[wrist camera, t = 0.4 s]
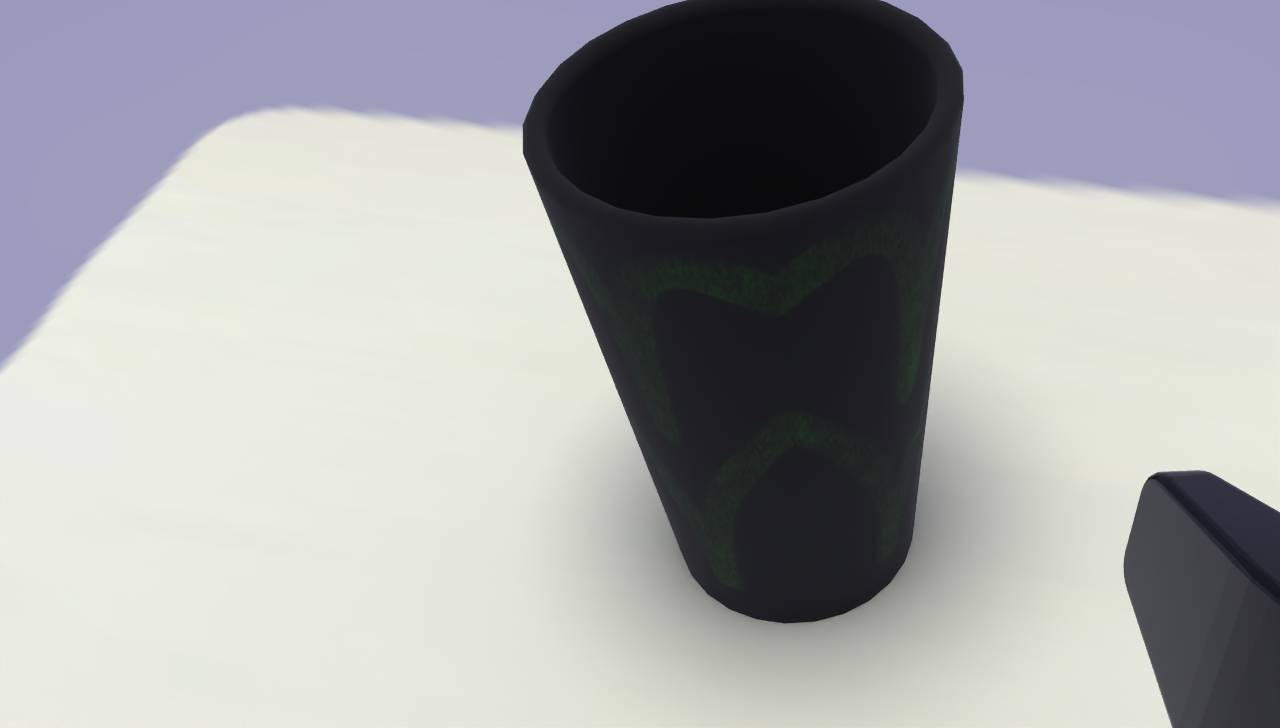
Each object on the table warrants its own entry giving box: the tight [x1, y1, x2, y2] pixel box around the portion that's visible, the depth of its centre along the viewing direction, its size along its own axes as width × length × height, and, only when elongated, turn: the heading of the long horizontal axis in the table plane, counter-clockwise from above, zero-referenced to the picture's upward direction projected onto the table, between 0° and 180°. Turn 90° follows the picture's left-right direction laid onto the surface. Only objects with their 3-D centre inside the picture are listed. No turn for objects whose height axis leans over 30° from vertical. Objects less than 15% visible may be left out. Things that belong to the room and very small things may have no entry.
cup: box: [523, 0, 964, 623], centre depth 25 cm, size 8×8×12 cm
